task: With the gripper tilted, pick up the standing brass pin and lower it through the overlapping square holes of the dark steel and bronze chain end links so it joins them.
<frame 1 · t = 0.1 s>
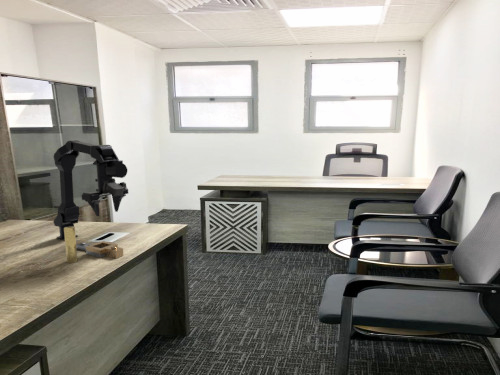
hand: (107, 213, 152), 14 cm above the table, tool pointing down, fingers open, 9 cm apart
brass pin: (72, 261, 139), on the table
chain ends: (102, 252, 148), on the table
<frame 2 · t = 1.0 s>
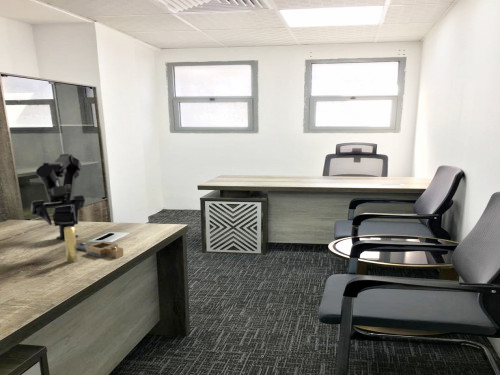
hand: (64, 222, 143), 13 cm above the table, tool tilted 45°, fingers open, 9 cm apart
nothing on the table moved.
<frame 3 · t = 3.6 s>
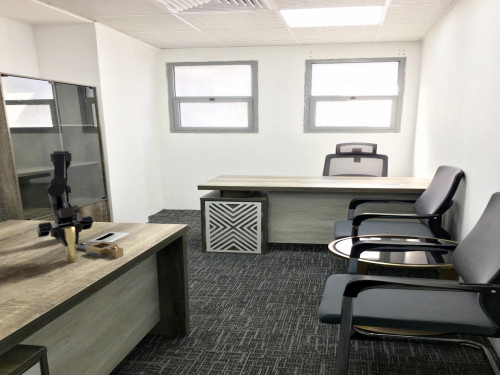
hand: (71, 245, 137), 7 cm above the table, tool tilted 45°, fingers closed on brass pin, 4 cm apart
brass pin: (72, 261, 139), on the table, touching gripper
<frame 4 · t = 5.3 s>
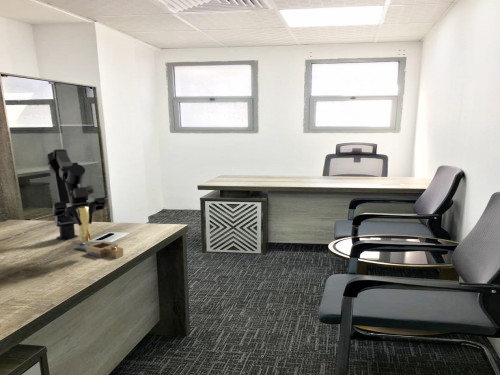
hand: (85, 224, 140), 13 cm above the table, tool tilted 45°, fingers closed on brass pin, 4 cm apart
brass pin: (85, 240, 143), point 7 cm above the table, touching gripper
when the fingers open (8 cm above the table, at t = 7.3 s): brass pin drops 1 cm, resting in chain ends.
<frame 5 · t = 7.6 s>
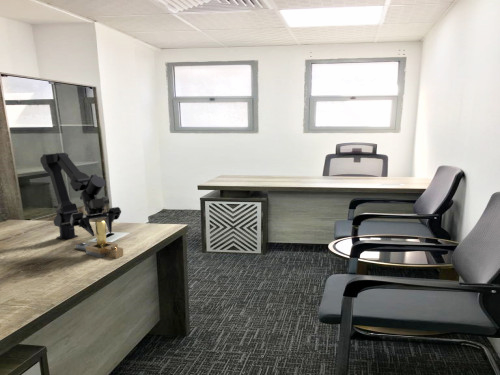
hand: (102, 234, 146), 8 cm above the table, tool tilted 45°, fingers open, 6 cm apart
brass pin: (102, 252, 149), resting in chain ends
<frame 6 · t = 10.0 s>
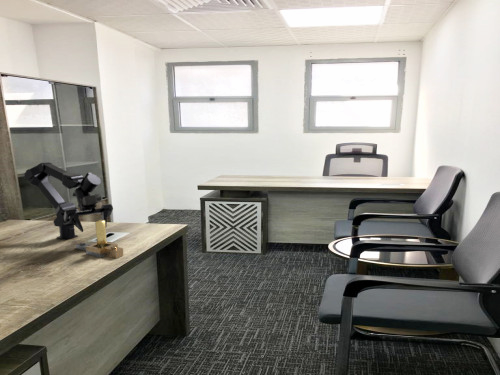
hand: (94, 229, 153), 8 cm above the table, tool tilted 45°, fingers open, 9 cm apart
nothing on the table moved.
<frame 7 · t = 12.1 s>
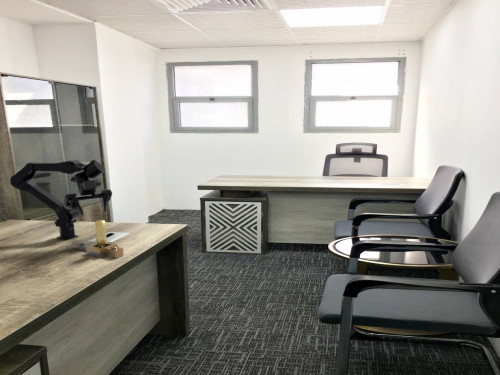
hand: (94, 213, 156), 14 cm above the table, tool tilted 45°, fingers open, 9 cm apart
nothing on the table moved.
at the end: brass pin 0.0 cm off-centre on the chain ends, point 0.0 cm above the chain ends's base; brass pin tilted 0°; the gripper is holding nothing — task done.
